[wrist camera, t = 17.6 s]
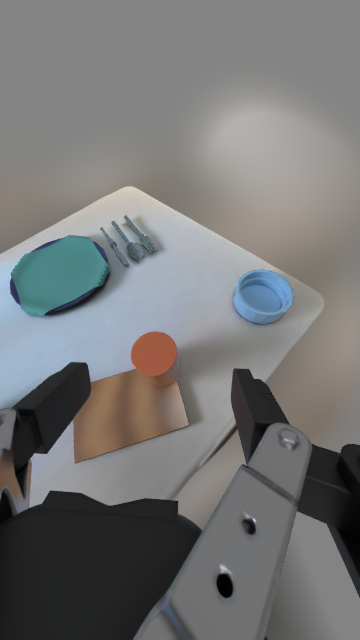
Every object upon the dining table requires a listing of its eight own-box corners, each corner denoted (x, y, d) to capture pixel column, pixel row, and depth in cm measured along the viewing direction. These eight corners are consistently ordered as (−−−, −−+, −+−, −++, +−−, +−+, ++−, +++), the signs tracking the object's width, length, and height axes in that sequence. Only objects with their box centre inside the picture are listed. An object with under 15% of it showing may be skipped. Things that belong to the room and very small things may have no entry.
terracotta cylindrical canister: (186, 361, 32) (184, 342, 24) (169, 394, 30) (162, 384, 22) (156, 347, 33) (146, 324, 26) (138, 377, 31) (121, 362, 23)
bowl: (289, 293, 38) (299, 279, 35) (276, 334, 34) (286, 323, 31) (241, 277, 40) (246, 263, 37) (225, 313, 37) (228, 302, 33)
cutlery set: (8, 268, 45) (-1, 261, 42) (126, 216, 51) (124, 207, 49) (30, 335, 36) (20, 330, 34) (167, 262, 43) (166, 254, 41)
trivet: (171, 360, 33) (171, 358, 32) (189, 425, 29) (189, 425, 28) (75, 388, 32) (71, 387, 31) (78, 462, 27) (74, 463, 26)
